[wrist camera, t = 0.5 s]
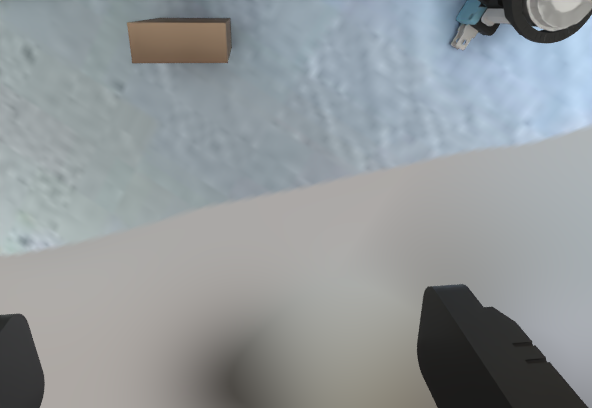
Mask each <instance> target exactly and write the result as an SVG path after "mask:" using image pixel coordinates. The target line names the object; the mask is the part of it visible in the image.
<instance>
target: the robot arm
mask: <svg viewBox="0 0 592 408" xmlns="http://www.w3.org/2000/svg"><path fill="white" fill-rule="evenodd" d="M417 355H418V362H419V367H420V370H421V373H422V375H423V378H424V380H425V382H426V384H427V386H428V388H429V390H430V392H431V394H432V397H433V398H434V401H435V403H436V405H437V407H438V408H588V407H587V406H586V404H584V402H583V401H582V400H581V399H580V397H579V396H578V395H577V394H576V393H575V391H574V390H573V389H572V388H571V387H570V386H569V384H568V383H567V382H566V381H565V380H564V379H563V377H562V376H561V375H560V374H559V373H558V371H557V370H556V369H555V368H554V367H553V366H552V364H551V363H550V362H547V361H546V357H545V356H544V355H543V354H542V353H541V351H540V350H539V349H538V348H537V347H536V346H533V344H532V341H531V340H530V339H529V337H528V336H527V335H526V334H525V333H524V331H523V330H522V329H521V328H520V327H519V325H517V323H516V322H515V321H513V320H511V319H510V318H509V317H507V316H506V315H504V314H503V313H501V312H499V311H498V310H497V309H495V308H493V307H483V306H482V305H481V303H480V302H479V301H478V300H477V298H476V297H475V296H474V294H473V293H472V292H471V291H470V290H469V288H468V287H467V286H466V285H463V284H459V285H446V286H433V287H432V286H431V287H427V288H426V290H425V292H424V296H423V304H422V311H421V318H420V326H419V334H418V342H417ZM43 394H44V374H43V370H42V367H41V364H40V360H39V357H38V354H37V351H36V347H35V344H34V341H33V338H32V334H31V331H30V328H29V325H28V323H27V320H26V318H25V317H24V316H23V315H22V314H7V315H0V408H40V405H41V402H42V399H43Z"/></svg>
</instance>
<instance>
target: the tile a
mask: <svg viewBox="0 0 592 408" xmlns="http://www.w3.org/2000/svg"><path fill="white" fill-rule="evenodd" d="M127 26H128V33H129V41H130V49H131V56H132V63H228V59H229V55H230V52H231V48H232V45H231V23H230V18H156V19H149V20H142V21H135V22H128V23H127Z"/></svg>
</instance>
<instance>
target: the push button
mask: <svg viewBox="0 0 592 408" xmlns="http://www.w3.org/2000/svg"><path fill="white" fill-rule="evenodd" d="M591 15H592V0H467V1H466V3H465V5H464V6H463V8H462V9H461V11H460V13H459V14H458V16H457V18H456V20H457V21H458V22H460V23H461V25H460V26H459V28H458V30H457V31H458V33H457V35H456V36H455V38H454V39H453V41H452V43H451V45H452V46H453V47H455V48H456V49H459V48H460V49H461V50H465V48H466V47H467V45H468V43H469V42H470V40H471V39H472V38H475V36H476V34H477V33H478V32H480V33H481V34H483V35H488V36H491V35H493V34H494V33H495V31H496V30H497V28H498V27H499V25H500V23H501V24H511V25H512V26H513V27H514V29H515V30H516V31H517V32H518V33H519V34H520V35H522V36H523V37H525V38H526V39H528V40H530V41H533V42H538V43H554V42H558V41H561V40H564V39H566V38H568V37H569V36H571V35H573V34H574V33H575V32H577V31H578V30H579V29H580V28H581V27H582V26H583V25H584V24H585V23H586V22H587V20H588V19H589V18H590V16H591ZM532 26H536V27H539V28H541V29H545V30H541V31H538V30H536V29H534V28H533V27H532ZM458 38H459V40H458V42H457V43H456V40H457V39H458ZM464 40H466V43H465V44H464V45H462V44H463V42H464Z"/></svg>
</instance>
